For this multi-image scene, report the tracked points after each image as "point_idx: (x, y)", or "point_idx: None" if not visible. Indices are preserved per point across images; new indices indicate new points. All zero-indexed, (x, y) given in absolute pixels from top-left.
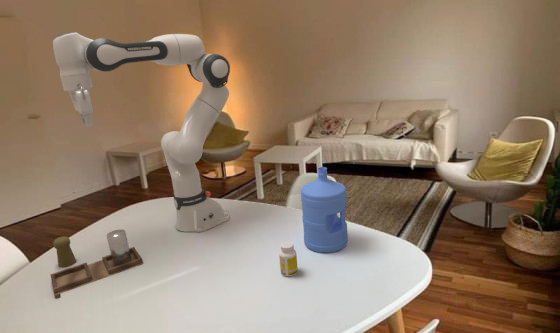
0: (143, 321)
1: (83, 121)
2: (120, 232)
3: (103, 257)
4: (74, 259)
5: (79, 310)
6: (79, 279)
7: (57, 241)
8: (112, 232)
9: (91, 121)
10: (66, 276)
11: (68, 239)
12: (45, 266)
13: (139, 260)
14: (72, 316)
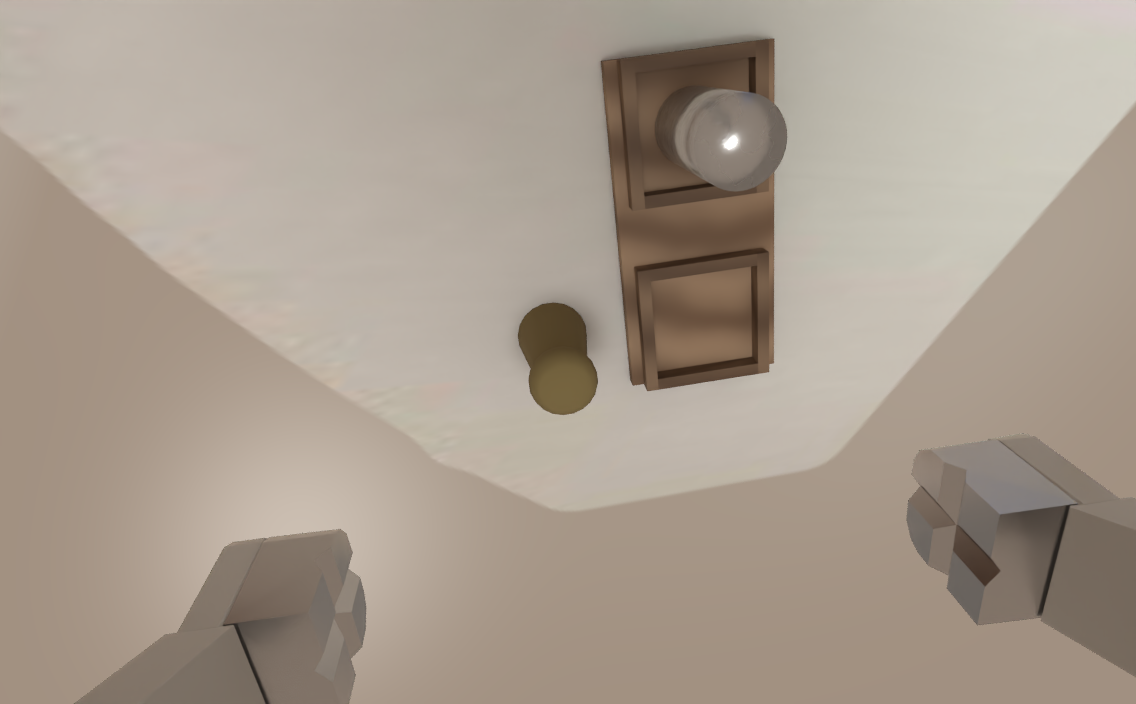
0: (1103, 98)
1: (350, 657)
2: (745, 119)
3: (638, 204)
4: (567, 317)
5: (891, 285)
6: (761, 293)
7: (585, 400)
8: (714, 160)
9: (1109, 493)
10: (665, 336)
11: (573, 357)
12: (500, 412)
13: (767, 53)
14: (907, 304)
